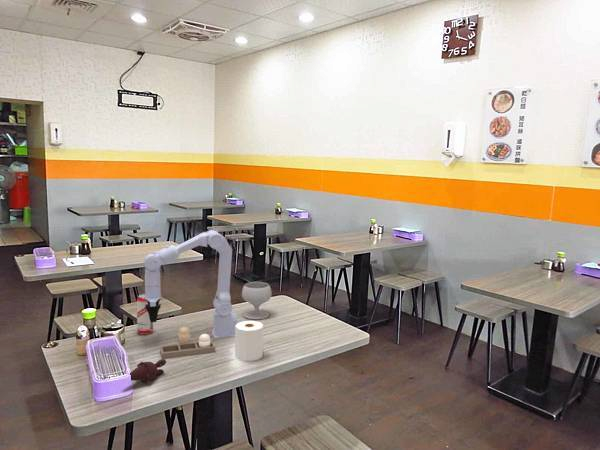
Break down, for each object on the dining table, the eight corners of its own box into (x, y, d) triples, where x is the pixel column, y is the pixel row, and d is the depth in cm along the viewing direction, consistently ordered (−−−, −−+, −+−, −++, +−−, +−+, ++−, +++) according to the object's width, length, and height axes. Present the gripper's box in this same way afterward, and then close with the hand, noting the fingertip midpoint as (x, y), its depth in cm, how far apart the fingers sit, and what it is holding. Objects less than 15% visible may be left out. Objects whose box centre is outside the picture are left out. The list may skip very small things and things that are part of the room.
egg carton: (212, 345, 172) (212, 339, 172) (215, 353, 165) (215, 347, 165) (160, 352, 165) (159, 346, 164) (161, 360, 158) (161, 354, 158)
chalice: (276, 313, 211) (277, 283, 209) (261, 322, 199) (262, 290, 197) (251, 309, 217) (251, 279, 215) (235, 317, 204) (236, 286, 202)
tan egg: (189, 339, 178) (189, 324, 177) (190, 343, 174) (190, 328, 173) (178, 340, 176) (177, 325, 175) (179, 344, 172) (179, 329, 171)
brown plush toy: (131, 375, 133) (173, 363, 145) (119, 362, 138) (160, 351, 149) (126, 395, 135) (168, 381, 147) (115, 381, 139) (156, 369, 151)
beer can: (148, 336, 180) (147, 298, 178) (134, 334, 181) (133, 297, 179) (156, 330, 186) (155, 294, 184) (142, 329, 187) (141, 293, 185)
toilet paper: (266, 352, 168) (266, 321, 166) (258, 363, 158) (258, 331, 156) (240, 349, 170) (241, 319, 168) (231, 360, 160) (231, 328, 158)
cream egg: (209, 346, 170) (209, 331, 169) (211, 351, 166) (211, 335, 165) (197, 348, 168) (197, 332, 168) (199, 352, 164) (199, 336, 164)
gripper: (142, 280, 176) (143, 313, 178) (141, 290, 162) (142, 326, 164) (160, 279, 178) (161, 312, 180) (161, 289, 164) (161, 324, 166)
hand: (153, 318), depth 172 cm, fingers open, 7 cm apart
